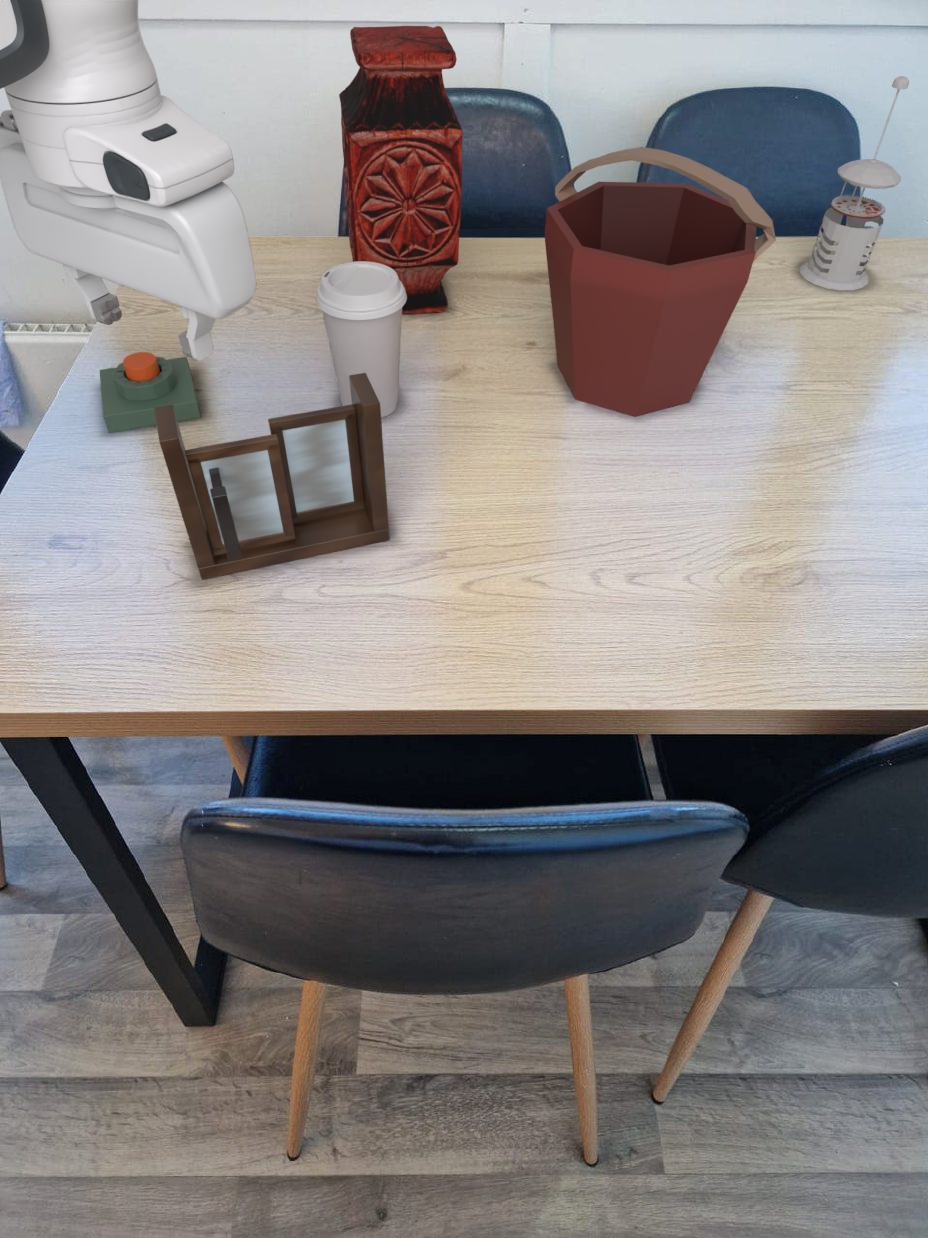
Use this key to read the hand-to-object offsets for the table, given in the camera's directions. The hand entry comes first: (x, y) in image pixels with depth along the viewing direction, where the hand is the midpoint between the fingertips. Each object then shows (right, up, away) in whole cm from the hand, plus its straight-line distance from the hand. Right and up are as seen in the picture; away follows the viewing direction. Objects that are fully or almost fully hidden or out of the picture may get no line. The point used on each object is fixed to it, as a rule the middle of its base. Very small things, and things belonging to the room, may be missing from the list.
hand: (152, 337), depth 63 cm
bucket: (+43, +8, +39) cm, 59 cm away
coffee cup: (+13, +4, +34) cm, 37 cm away
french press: (+78, +29, +59) cm, 102 cm away
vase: (+15, +23, +52) cm, 59 cm away
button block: (-13, +4, +34) cm, 36 cm away
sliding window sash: (+5, -16, +14) cm, 22 cm away
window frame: (+7, -14, +18) cm, 24 cm away
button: (-13, +6, +31) cm, 34 cm away
